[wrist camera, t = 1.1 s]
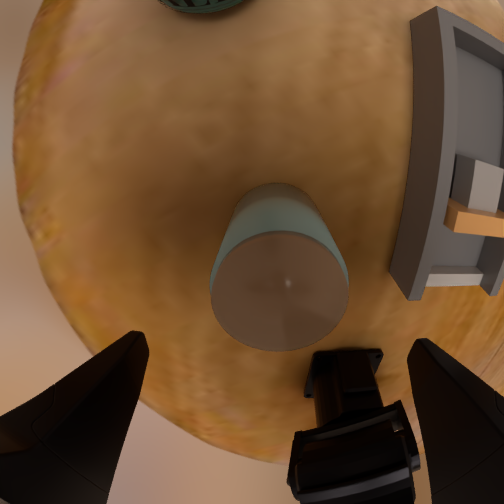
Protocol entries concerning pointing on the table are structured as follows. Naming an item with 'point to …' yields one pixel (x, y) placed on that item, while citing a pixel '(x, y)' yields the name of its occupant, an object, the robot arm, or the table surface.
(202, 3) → the beverage bottle
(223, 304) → the jar
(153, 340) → the table surface
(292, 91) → the table surface
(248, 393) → the table surface
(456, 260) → the gray rectangular tray
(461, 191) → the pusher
